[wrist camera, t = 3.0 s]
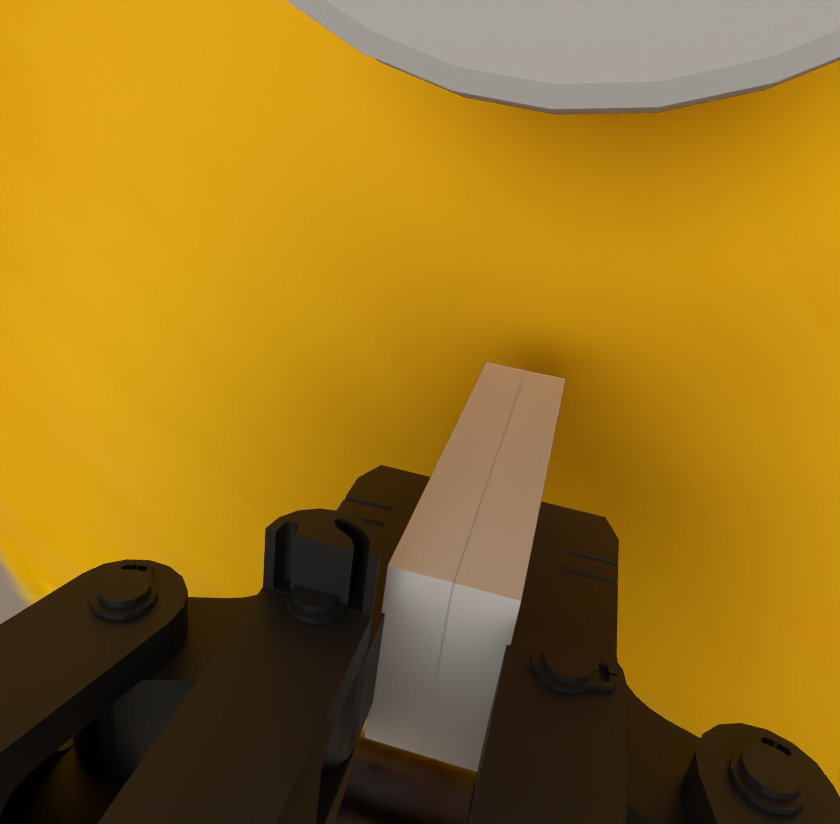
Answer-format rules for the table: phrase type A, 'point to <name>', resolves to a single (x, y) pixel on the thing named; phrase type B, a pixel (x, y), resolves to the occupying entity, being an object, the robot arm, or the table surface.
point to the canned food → (591, 47)
